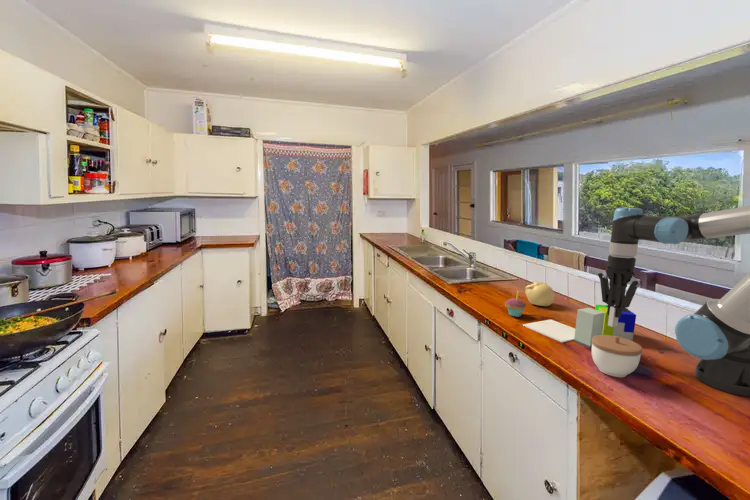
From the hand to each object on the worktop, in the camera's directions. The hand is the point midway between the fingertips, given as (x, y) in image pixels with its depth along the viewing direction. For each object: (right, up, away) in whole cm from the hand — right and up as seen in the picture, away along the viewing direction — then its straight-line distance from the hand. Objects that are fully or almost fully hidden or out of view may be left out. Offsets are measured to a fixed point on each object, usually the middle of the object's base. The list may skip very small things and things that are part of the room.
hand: (612, 325), depth 126 cm
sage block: (-4, -8, +8) cm, 12 cm away
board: (-9, -6, +20) cm, 23 cm away
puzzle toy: (+11, -7, +18) cm, 22 cm away
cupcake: (-19, -3, +37) cm, 42 cm away
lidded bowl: (-8, -12, -12) cm, 18 cm away
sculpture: (-1, -1, +53) cm, 54 cm away
